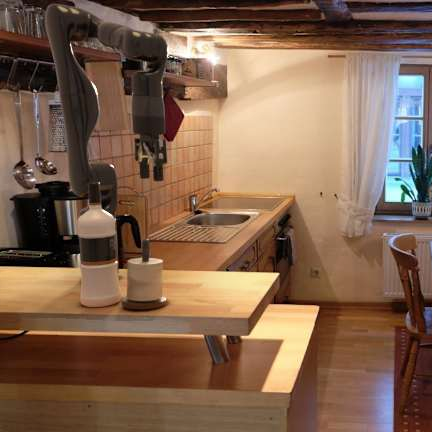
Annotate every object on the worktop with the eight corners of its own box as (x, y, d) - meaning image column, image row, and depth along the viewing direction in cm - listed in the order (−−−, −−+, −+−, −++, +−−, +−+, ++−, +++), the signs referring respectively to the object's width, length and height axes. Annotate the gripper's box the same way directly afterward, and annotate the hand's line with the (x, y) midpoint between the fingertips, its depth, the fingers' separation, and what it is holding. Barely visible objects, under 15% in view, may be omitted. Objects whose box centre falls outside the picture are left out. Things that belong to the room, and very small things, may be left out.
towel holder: (156, 296, 145) (115, 301, 138) (158, 234, 143) (117, 236, 136) (172, 305, 138) (130, 311, 131) (175, 240, 136) (132, 243, 129)
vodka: (76, 301, 140) (68, 181, 136) (116, 294, 146) (109, 179, 141) (85, 310, 133) (76, 184, 128) (126, 303, 139) (119, 182, 134)
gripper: (175, 115, 137) (178, 181, 140) (152, 115, 148) (154, 177, 150) (144, 114, 132) (147, 182, 135) (122, 114, 142) (125, 178, 145)
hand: (151, 179), depth 142 cm, fingers open, 8 cm apart
